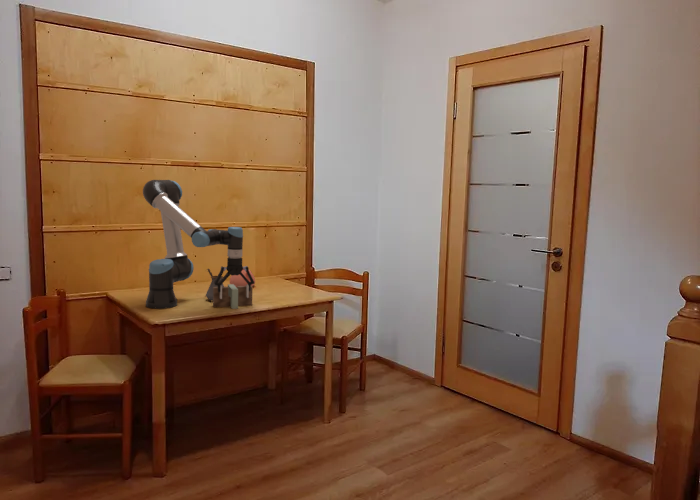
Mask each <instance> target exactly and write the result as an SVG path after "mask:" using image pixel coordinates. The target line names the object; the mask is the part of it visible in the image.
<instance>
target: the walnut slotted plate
mask: <svg viewBox="0 0 700 500" xmlns="http://www.w3.org/2000/svg"><path fill="white" fill-rule="evenodd" d="M237 289H238V307H244V306H246V307H247V306H253V286H251V290H250V291H249V298H247V297H246V286H237ZM212 307H213V308H222V307H224V308H225V307H231V297H230V296H229V287H228V285H227V286H224V287H222V299H220V292H218V287H213V301H212Z"/></svg>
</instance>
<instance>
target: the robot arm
mask: <svg viewBox="0 0 700 500" xmlns="http://www.w3.org/2000/svg"><path fill="white" fill-rule="evenodd" d="M142 195H143V198H144V200H145V201H146V202H147V203H148V204H149V205H150V206H151V207H152V208H153V209H158V211H160V217H161V223H162V228H163V234H164V235H163V236H164V241H165V247H166V249H165V250H166V255H165V257H164V258H159V259H154V260H152V261H150V263H149V265H148V266H149V268H148V277H149V278H148V279H149V280H148V282H149V283H148V285H149V286H148V287H149V288H148V289H149V290H148V294H147V297H146V300H145V307H147V308H148V309H149V308H150V309H159V310H160V309H169V308H174V307H177V305H178V300H177V297H176V294H175V290H174V283H179V282H183V281H185V280H187V279H189V278H190V277H191V276H192V275H193V272H194V263H193V262H192V260H191V259H190V258H189V257H188V254H187V253H186V252H185V251H184V244H183V237H182V231H183V232H184V233H185V234H186V235H187V236H188V237H189V238H191V242H192V245H193V246H195V247H196V248H205V247H211V246H216V245H217V246H218V245H223V246H224V245H225V246H227V255H226V256H227V260H226V261H227V266H220V271H219V272H218V275H216V276H217V278H216V280H215V282H214V284H215V285H217V286H218V292H220V299H222V286H221V285H222V283H223V284H224V283H225V281H226V280H227V279H228V278H230V277H231V275H239V274H240V275H241V276H242V278H243V279H244V280H245V281H246V282H247V283H248V284H247V285H246V297H247V298H249V291H250V290H251V284H254V281H253V279H252V276H251V274H250V272H249V270H250V268H249V266H248V265H245V266H243V242H244V240H243V239H244V233H243V232H244V231H243V228H242V227H240V226H228V228H227V230H225V229H217V228H211V229H208V230H206V229H205V228H204V227H202V225H200V224H199V223H198V222H197V221H196V220H194V219H193V218H192V217H191V216H190V215H189V214H188V213H186V212H185V211H184V210H183V209H182V208H181V207H180V206H179V205H180V204H181V203H180V200H181V199H182V197H183V189H182V186H181V185H180V184H179V183H178V182H177V181H175V180H171V179H150V180H148V181H147V182H146V183H145V184H144V186H143V187H142ZM243 269H244V270H245V271H246V273H247V275H248V277H249V279H250V281H251V282H249V281H248V280H247V278H246V277H245V276H244V275H243V274H242V273H241V271H242V270H243ZM225 271H227V272H226V273H225V275H224V276H223V274H224V272H225ZM221 276H223V278H222V279H221V280H220V278H221ZM219 280H220V282H219ZM218 282H219V283H218ZM254 285H255V284H254Z"/></svg>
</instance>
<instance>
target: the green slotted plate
mask: <svg viewBox="0 0 700 500" xmlns="http://www.w3.org/2000/svg"><path fill="white" fill-rule="evenodd" d="M227 286H228V287H229V296H230V297H231V306H230V309H232V310H233V309H234V310H236V309H239V306H238V289H237V288H236V287H235V285H234V284H230V283H229V284H227Z"/></svg>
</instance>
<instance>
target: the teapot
mask: <svg viewBox="0 0 700 500" xmlns="http://www.w3.org/2000/svg"><path fill="white" fill-rule="evenodd" d="M249 272H250V274H251V276H252V279H253V281H254V284H251V286H252V287H253V286H254V285H256V279H255V276H254V274H253V273H252V271H251V269H249ZM241 273H242V274H243V275H244V276H245V277H246V278H247V280H248V281H249V282H251V281H250V279H249V277H248V275H247V273H246V271H245V270H244V269H243V270H242V271H241ZM229 284H234V285H235V287H236V288H237V286H246V285H247V284H248V283H247V282H246V281H245V280H244V279H243V278H242V276H241V275H240V274H239V275H230V276H229Z"/></svg>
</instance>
